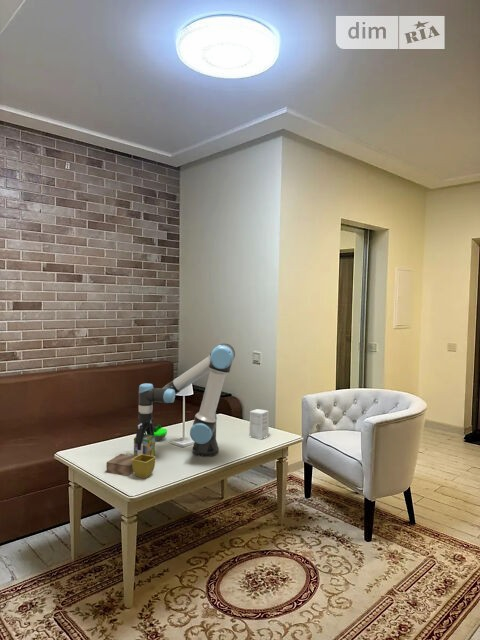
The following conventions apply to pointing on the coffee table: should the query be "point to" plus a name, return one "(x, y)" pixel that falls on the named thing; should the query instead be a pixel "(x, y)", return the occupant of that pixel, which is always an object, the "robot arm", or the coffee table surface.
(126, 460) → the podium
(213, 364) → the robot arm
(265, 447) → the coffee table surface
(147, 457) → the flower pot
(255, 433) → the supplement box
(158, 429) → the green moss planter
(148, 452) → the chalk box
